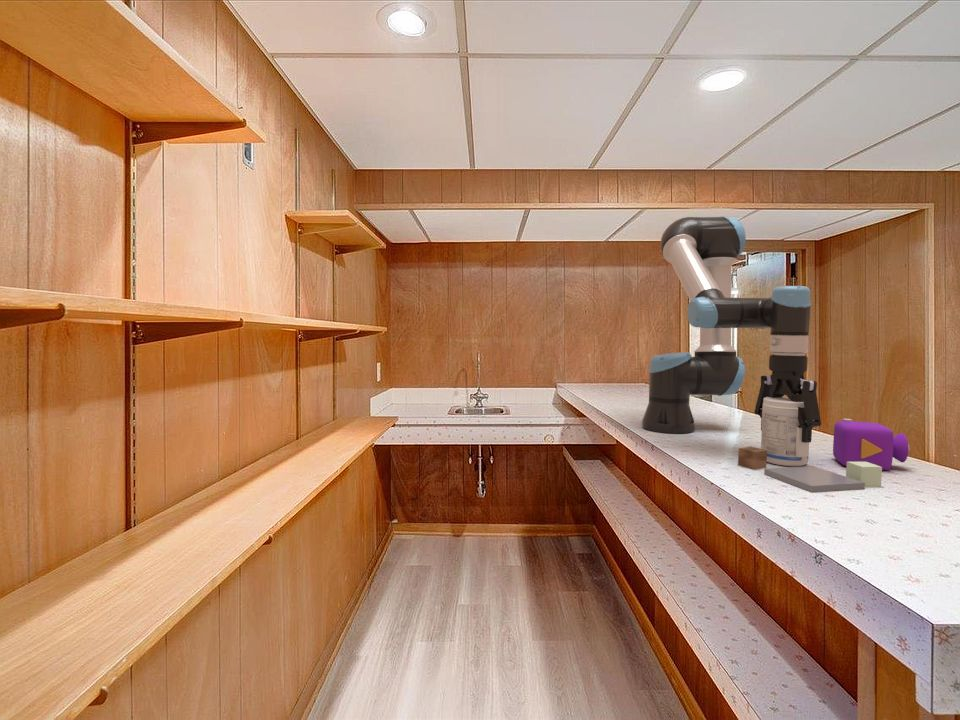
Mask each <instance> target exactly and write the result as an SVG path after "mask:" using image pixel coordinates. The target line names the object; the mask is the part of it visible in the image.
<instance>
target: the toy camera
mask: <svg viewBox="0 0 960 720" xmlns="http://www.w3.org/2000/svg"><path fill="white" fill-rule="evenodd" d="M909 452H910V445H909V439H908V437H907V436H906V434H905V433H903V432H901V433H898V434H896V435H895V434H894V433H893V430H892V429H891V428H889V427H887V426H885V425H883V424H880V423H877V422H870V421H869V422H868V421H856V420H855V421H854V420H853V419H851V418H842V420H838V421H836V422H835V423H834V425H833V441H832V454H833V457H834V458H835V460H837V461H838V462H839V463H840V464H841V465H842V466H844V467H847V462H869V463H872V464H875V465H878V466H881V467H882V471H888V470H890V469H891V468H892V466H893V459H895V460H897V461H898V462H900V463H905V461H907V459H908V456H909Z"/></svg>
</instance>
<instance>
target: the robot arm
mask: <svg viewBox="0 0 960 720" xmlns="http://www.w3.org/2000/svg"><path fill="white" fill-rule="evenodd" d="M746 236H747V235H746V231H745V227H744V225H743V223H742V222H741V221H740V219H738V218H736V217H730V216H729V217H728V216H727V217H726V216H712V217H711V216H704V217H703V216H700V217H699V216H686V217H683V218H679V219H677V220H675V221H673V222H672V223H671V224H669V225H668V226H667V228H666V229H665V230H664V232H663V233H662V235H661V238H660V244H659V245H660V246H659V247H660V248H659V249H660V251H661V254H662V257H663V258H664V260H666V262H668V263H669V264H671V265H672V268H673V270H674V271H675V274H676V275H677V277H678V280H679V281H680V284H681V285H682V288H683V290H684V291H685V294H686V295H687V297H688V298H689V302H688V305H687V312H686V315H687V320H688V321H687V322H688V323H689V324H690V326H691V327H694V328H699V346H698V347H697V348H696V349H695V350H694V356H692V353H691V352H686V351H685V352H684V351H683V352H682V351H681V352H667V353H661V354H655V355H653V356H652V357H651V358H650V361H649V370H648V372H649V379H648V381H649V382H648V384H649V385H648V392H649V393H648V404H647V406H646V410H645V412H644V413H643V414H644V415H643V418H642V420H641V421H642V422H641V426H642V427H641V428H643V429H645V430H648V431H651V432H652V431H653V432H659V433H664V434H665V433H666V434H667V433H668V434H687V433H688V434H689V433H693V432H695V428H696V427H695V426H696V425H695V420H694V416H693V413H692V410H691V407H690V398H691V397H690V396H719V397H721V396H730V395H734V394H737V392H738V391H739V390H740V389H741V388H742V385H743V383H744V380H745V374H746V367H745V364H744V363H745V362H744V361H743V360H744V359H742V358H741V357H739V356H737V349H735V348H734V347H733V346H732V329H756V330H758V329H760V330H765V329H770V334H769V335H770V338H769V339H770V341H769V342H770V343H769V352H770V353H772V354H770V355H769V359H768V361H769V362H768V370H769V371H772V372H771V374H770V375H761V376H760V387H759V392H758V396H757V399H756V403H755V407H754V414H755V415H758V416H759V417H760V419H761V420H760V430H761V432H762V408H763V399H764V398H765V397H772V398H779V397H785V396H786V397H788V398H789V399H790V400H791V401H793V402H804V407H803V408H801V407H798V421H799V424H800V425H799V426H798V427H797V433H796V455H795V456H797V457H807V456H808V457H809V455H810V454H809V453H810V443H811V442H812V436H813V435H812V433H813V428H815V427H821V426H822V419H821V415H820V413H821V412H820V408H819V402H818V396H817V385H818V383H817V381H816V380H807V379H806V378H805V375H804V374H805V373H806V372H807V371H808V356H807V355H806V354H808V353H809V343H810V342H809V341H810V339H809V338H810V337H809V332H810V322H811V321H810V320H811V306H812V302H811V289H810V288H809V287H808V286H806V285H805V286H803V285H784V286H776V287H775V288H773V290H772V292H771V293H772V294H771V296H770V297H732V266H733V265H734V264H735V263H736V262H737V261H738V256H741V254H742V253H744V251H745V246H746V241H747V240H746V239H747V238H746ZM805 420H806V422H805Z"/></svg>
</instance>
